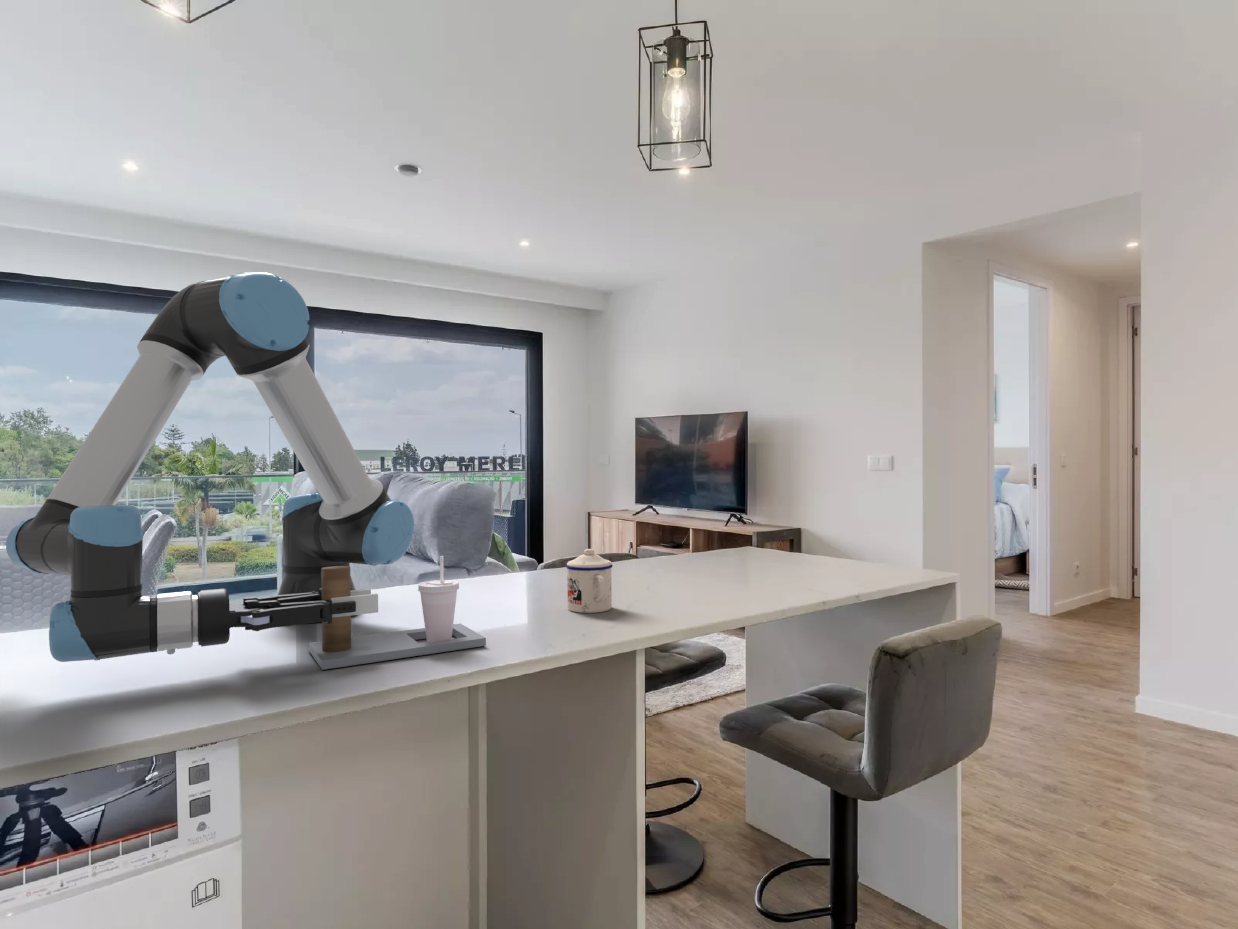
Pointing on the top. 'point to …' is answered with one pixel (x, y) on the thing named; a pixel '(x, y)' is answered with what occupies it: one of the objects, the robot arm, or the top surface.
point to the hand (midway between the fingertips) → (373, 600)
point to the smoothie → (438, 606)
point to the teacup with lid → (589, 583)
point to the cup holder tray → (377, 647)
